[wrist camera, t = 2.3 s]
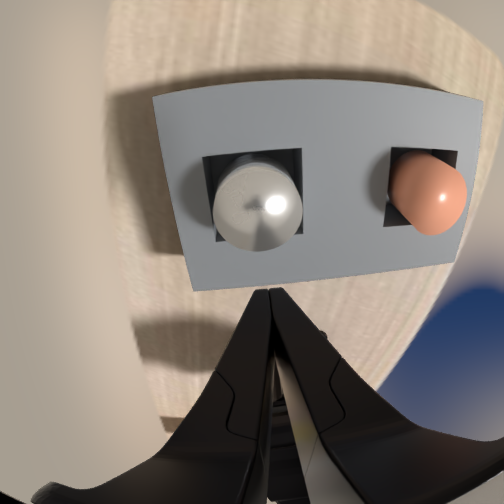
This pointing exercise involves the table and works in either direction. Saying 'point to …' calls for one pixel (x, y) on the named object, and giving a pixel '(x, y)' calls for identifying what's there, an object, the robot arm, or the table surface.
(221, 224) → the steel plunger
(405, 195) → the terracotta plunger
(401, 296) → the table surface
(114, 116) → the table surface
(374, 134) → the panel
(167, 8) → the table surface
